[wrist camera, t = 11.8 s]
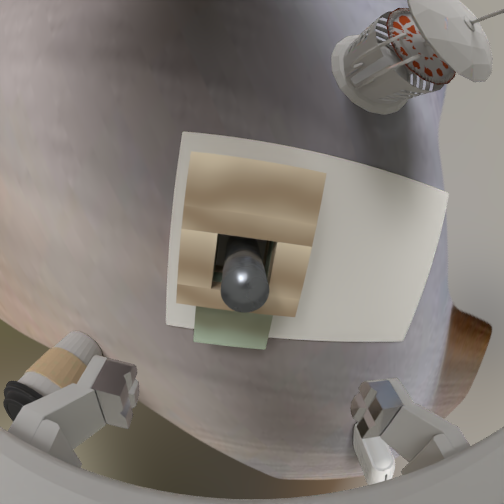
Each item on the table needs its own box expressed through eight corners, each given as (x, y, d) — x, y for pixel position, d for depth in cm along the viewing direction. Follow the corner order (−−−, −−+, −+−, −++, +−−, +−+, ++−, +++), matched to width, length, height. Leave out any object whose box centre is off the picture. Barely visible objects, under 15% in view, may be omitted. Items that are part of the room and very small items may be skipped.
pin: (228, 228, 26) (223, 265, 16) (260, 233, 26) (273, 272, 17) (224, 259, 27) (218, 309, 17) (255, 263, 27) (264, 314, 18)
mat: (183, 132, 24) (182, 131, 23) (446, 192, 26) (449, 193, 26) (166, 322, 29) (165, 324, 29) (401, 339, 32) (402, 341, 32)
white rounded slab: (372, 440, 40) (392, 487, 28) (351, 447, 40) (369, 496, 28) (376, 412, 37) (402, 467, 25) (352, 421, 37) (375, 478, 25)
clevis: (200, 154, 24) (190, 151, 19) (308, 171, 25) (326, 173, 20) (183, 319, 29) (174, 350, 23) (275, 330, 30) (282, 362, 24)
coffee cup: (118, 381, 32) (83, 466, 18) (63, 365, 31) (18, 435, 17) (109, 326, 29) (53, 415, 15) (50, 311, 28) (-15, 379, 14)
